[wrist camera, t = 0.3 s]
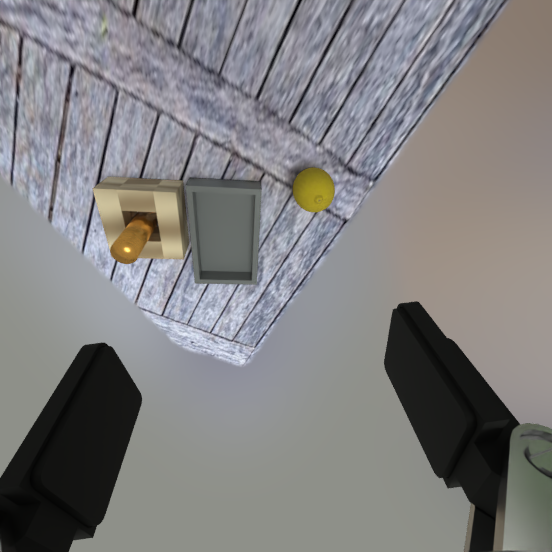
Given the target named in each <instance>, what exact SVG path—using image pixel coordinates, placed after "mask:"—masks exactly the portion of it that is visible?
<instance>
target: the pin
mask: <svg viewBox="0 0 552 552" xmlns="http://www.w3.org/2000/svg"><path fill="white" fill-rule="evenodd" d="M157 225H158V219H157V213H156V212H138V213H137V214H136V215H135V216H134V218H133V219H132V220H131V222H130V223H129V224H128V225H127V227H126V228H125V229H124V230H123V232H122V233H121V234H120V235H119V237H118V238H117V239H116V241H115V242H114V243H113V244H112V246H111V248H110V253H111V255H112V257H113V258H114V259H115V260H117V261H118V262H120V263H124V264H131V263H133V262H135V261H136V260H137V258H138V256H139V255H140V253H141V251H142V250H143V248H144V246H145V245H146V243H147V241H148V240H149V238H150V236H151V235H152V233H153V231H154V230H155V228H156V226H157Z"/></svg>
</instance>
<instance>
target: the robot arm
mask: <svg viewBox="0 0 552 552" xmlns="http://www.w3.org/2000/svg"><path fill="white" fill-rule="evenodd" d="M384 365H385V370H386V372H387V374H388V377H389V379H390V381H391V383H392V385H393V387H394V389H395V391H396V393H397V395H398V398H399V399H400V402H401V403H402V406H403V408H404V410H405V412H406V414H407V416H408V418H409V421H410V423H411V425H412V427H413V429H414V431H415V433H416V435H417V437H418V439H419V442H420V444H421V446H422V448H423V450H424V452H425V454H426V456H427V458H428V460H429V462H430V465H431V467H432V469H433V471H434V473H435V474H436V475H437V476H438V477H439V478H443V479H444V481H445V484H446V485H447V488H454V487H462V488H463V490H464V492H465V494H466V496H467V498H468V500H469V501H470V502H471V505H470V512H469V519H468V525H467V532H466V540H465V546H464V552H552V429H551V428H549V427H545V426H542V425H539V424H530V423H526V424H522V425H520V424H519V422H518V421H517V420H516V418H515V417H514V416H513V415H512V413H511V412H510V411H509V410H508V408H507V407H506V406H505V405H504V403H503V402H502V401H501V400H500V398H499V397H498V396H497V395H496V393H495V392H494V391H493V390H492V388H491V387H490V386H489V384H488V383H487V382H486V381H485V380H484V378H483V377H482V376H481V374H480V373H479V372H478V371H477V370H476V368H475V367H474V366H473V364H472V363H471V362H470V361H469V359H468V358H467V357H466V356H465V354H464V353H463V352H462V350H461V349H460V348H459V347H458V345H457V344H456V343H455V342H454V341H453V340H451V339H449V338H446V336H445V335H444V334H443V332H442V331H441V330H440V329H439V327H438V326H437V325H436V323H435V322H434V321H433V319H432V318H431V317H430V316H429V314H428V313H427V312H426V311H425V309H424V308H423V307H422V305H421V304H420V303H419V302H409V303H401V304H399V305H398V307H397V309H393V312H392V317H391V324H390V329H389V335H388V342H387V347H386V353H385V359H384ZM141 403H142V396H141V393H140V391H139V390H138V388H137V386H136V385H135V383H134V382H133V380H132V378H131V377H130V375H129V373H128V372H127V370H126V368H125V367H124V365H123V364H122V362H121V360H120V359H119V357H118V355H117V354H116V352H115V350H114V349H113V348H112V347H111V346H108V345H107V344H106V343H96V344H89V345H84V346H83V347H82V348H81V349H80V351H79V352H78V354H77V356H76V357H75V359H74V360H73V362H72V364H71V365H70V367H69V369H68V370H67V372H66V373H65V375H64V377H63V378H62V380H61V381H60V383H59V385H58V386H57V388H56V389H55V391H54V393H53V394H52V396H51V397H50V399H49V401H48V402H47V404H46V406H45V407H44V409H43V411H42V412H41V414H40V415H39V417H38V418H37V420H36V421H35V423H34V425H33V426H32V428H31V430H30V431H29V433H28V435H27V436H26V438H25V439H24V441H23V443H22V444H21V446H20V447H19V449H18V451H17V452H16V454H15V455H14V457H13V459H12V460H11V462H10V463H9V465H8V467H7V468H6V470H5V471H4V473H3V475H2V476H1V478H0V552H69V549H70V547H71V544H72V541H73V540H79V539H86V538H93V536H94V533H95V530H96V527H97V525H99V524H100V523H101V522H102V520H103V519H104V516H105V514H106V511H107V508H108V505H109V501H110V498H111V495H112V492H113V489H114V486H115V483H116V480H117V477H118V474H119V471H120V468H121V465H122V462H123V459H124V456H125V453H126V450H127V447H128V444H129V441H130V437H131V434H132V431H133V428H134V425H135V422H136V419H137V416H138V413H139V410H140V407H141Z"/></svg>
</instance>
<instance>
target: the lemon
mask: <svg viewBox="0 0 552 552" xmlns="http://www.w3.org/2000/svg"><path fill="white" fill-rule="evenodd" d="M334 193H335V188H334V183H333V180H332V179H331V177H330V175H329V174H328V173H327V172H325V171H324V170H322V169H320V168H308V169H305V170H303V171H302V172H300V173H299V174H298V176H297V177H296V179H295V181H294V184H293V195H294V198H295V200H296V202H297V204H298V205H299V206H300V207H301V208H303V209H304V210H306V211H309V212H319V211H322V210H324V209H326V208H327V207H328V206H329V205H330V204H331V202H332V200H333V198H334Z"/></svg>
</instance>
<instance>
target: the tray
mask: <svg viewBox="0 0 552 552" xmlns="http://www.w3.org/2000/svg"><path fill="white" fill-rule="evenodd" d="M261 190H262V189H261V182H258V181H241V180H223V179H206V178H189V180H188V182H187V184H186V195H187V206H188V216H189V226H190V237H191V247H192V258H193V268H194V278H195V283H198V284H254V285H257V266H258V247H259V228H260V209H261Z"/></svg>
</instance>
